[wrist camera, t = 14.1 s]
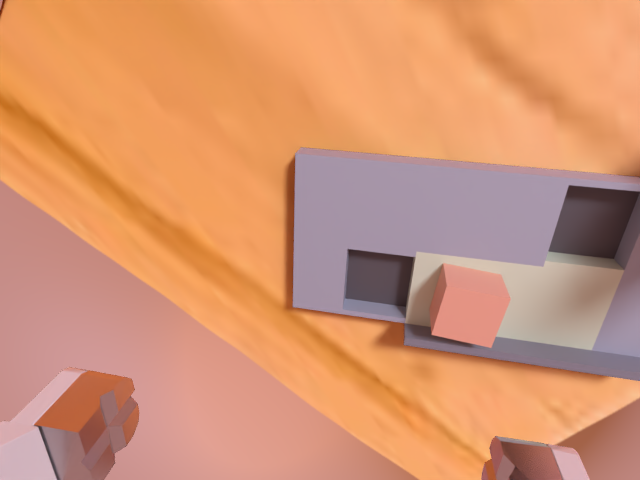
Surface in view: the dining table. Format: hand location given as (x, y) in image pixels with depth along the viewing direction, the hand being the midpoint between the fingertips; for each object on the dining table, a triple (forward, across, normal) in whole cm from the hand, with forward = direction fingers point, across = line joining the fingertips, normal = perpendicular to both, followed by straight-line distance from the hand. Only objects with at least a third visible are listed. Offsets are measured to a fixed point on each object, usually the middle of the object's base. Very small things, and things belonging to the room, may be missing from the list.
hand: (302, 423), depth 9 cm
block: (+24, -9, +10) cm, 28 cm away
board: (+26, -10, +7) cm, 29 cm away
